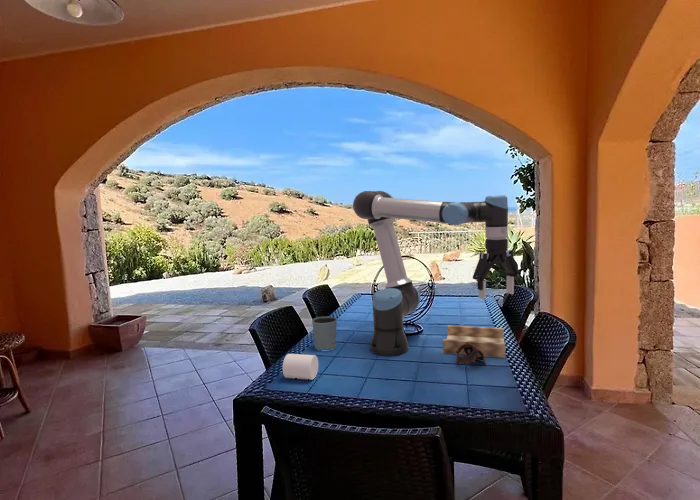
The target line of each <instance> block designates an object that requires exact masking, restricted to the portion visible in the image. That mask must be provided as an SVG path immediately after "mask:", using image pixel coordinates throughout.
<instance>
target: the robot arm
mask: <svg viewBox="0 0 700 500" xmlns="http://www.w3.org/2000/svg"><path fill="white" fill-rule="evenodd" d="M352 208H353V211H354V214H355V215H356V216H357V217H359V219H362V220H367V223H368V226H369V227H371V228H373V231H374V235H375V236H374V237H375V240H376V244H377V247H378V250H379V254H380V259H381V263H382V266H383V270H384V273H385V277H386V278H385V279H386V281H387V282H386V285H385V286H384V287H385V288H384V289H379V290H377V291H375V292H374V293H373V295H372V302H371V304H372V315H373V333H372V335H371V336H372V338H371V339H370V351H371V352H372V353H374V354H376V355H379V356H387V357H388V356H389V357H390V356H398V355H402V354H405V353H407V352H408V350H409V349H410V348H409V341H408V339H407V338H408V337H407V336H406V333H405V330H404V317H406V316H408V315H410V314H411V313H414V311H415V310H416V309H417V308H418V307H419V305H420V304H421V294H420V291H419V289H418V288H417V287H415V285H413V280H412V279H410V278H409V277H408V276H407V272H406V269H405V264H404V260H403V256H402V252H401V249H400V245H399V243H398V241H399V240H398V238H397V233H396V230H395V226H394V222H395V219H398V220H399V219H400V220H410V221H412V220H413V221H420V222H421V221H422V222H431V223H443V224H448V225H450V226H451V225H452V226H459V225H462V224H468V223H469V224H470V223H485V225H484V226H485V230H484V231H485V234H484V235H485V238H486V239H485V241H484V242H485V249H486V253H485V252H480V253H479V255H478V256H479V257H478V261H477V265H476V267H475V269H474V272H473V275H472V280H475V281H477V290H478V298H479V299H482V300H486V299H487V298H486V297H487V291H486V290H487V285H486V284H487V282H486V280H485V279H486V278H487V276H488V275H489V272H490V271H491V269H492V267H494V266H495V265H496V266H497V265H499V264H500V265H501V266H502V268H503V269H504V271H505V272H506V274H507V275H506V294H510V295H514V293H515V282H516V281H515V278H516V277H518V275H520V270H519V268H518V265H517V262H516V260H515V257H514V252H513V251H514V250H510V249H508V247H509V245H508V239H507V238H508V233H509V232H508V229H509V228H508V221H509V217H508V216H509V215H508V214H509V205H508V197H507V196H506V195H504V194H503V195H502V194H500V195H497V194H496V195H486V196H485V199H484V201H483V200H482V201H465V202H463V201H462V202H461V201H460V202H454V201H453V202H452V201H441V200H438V201H437V200H428V199H427V200H425V199H412V198H399V197H398V198H395V197H393V195H392V194H390V193H389V192H386V191H384V190H373V191H372V190H363V191H362V192H359V193H358V194H357V195H355V197H354V199H353V202H352Z"/></svg>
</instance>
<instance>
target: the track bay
mask: <svg viewBox="0 0 700 500" xmlns="http://www.w3.org/2000/svg"><path fill="white" fill-rule="evenodd" d="M504 330H505V328H504V327H488V326H487V327H486V326H471V325H470V326H468V325H450V324H447V337H446V338H443V339H442V353H443V354H449V355H450V354H451V355H452V354H453V355H457V353H456V350H457V349H458V348H459V347H460V346H461V345H463V344H465V343H467V342H469V343H471V344H473V345H474V346H476V347H478V348H479V349H480V350H481V351H482V352H483V355H484V357H486V358H487V357H489V358H501V359H502V358H503V359H504V358H505V359H506V342H505V336H504V335H505V333H504V332H505V331H504ZM473 349H474V348H473ZM458 355H463V356H467V355H466V352H465V351H464V348H463V349H462V350H461V351H460V352H459V354H458Z"/></svg>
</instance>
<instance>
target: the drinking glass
mask: <svg viewBox="0 0 700 500" xmlns="http://www.w3.org/2000/svg"><path fill="white" fill-rule="evenodd" d="M337 320H338V319H337V317H335V316H328V315H327V316H317V317H314V318H313V319H312V320H311V325H312V331H313V339H314V348H316V349H318V350H331V349H334V348H335V347H336V348H337V324H338V323H337V322H338V321H337ZM336 348H335V349H336ZM316 349H315V350H316ZM335 349H334V350H335ZM331 351H332V350H331Z"/></svg>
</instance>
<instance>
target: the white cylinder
mask: <svg viewBox="0 0 700 500" xmlns="http://www.w3.org/2000/svg"><path fill="white" fill-rule="evenodd" d="M282 373H283V374H282V375H283V377H284V378H285V379H295V378H297V380H308V379H309V380H310V381H313V379H314V378H315V377H317V376H316V375H318V373H319V358H318V357H317V355H316V354H302V353H300V354H299V353H287V354H286V355H285V356H284V359H283V361H282ZM315 379H316V378H315ZM315 379H314V380H315Z"/></svg>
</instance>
